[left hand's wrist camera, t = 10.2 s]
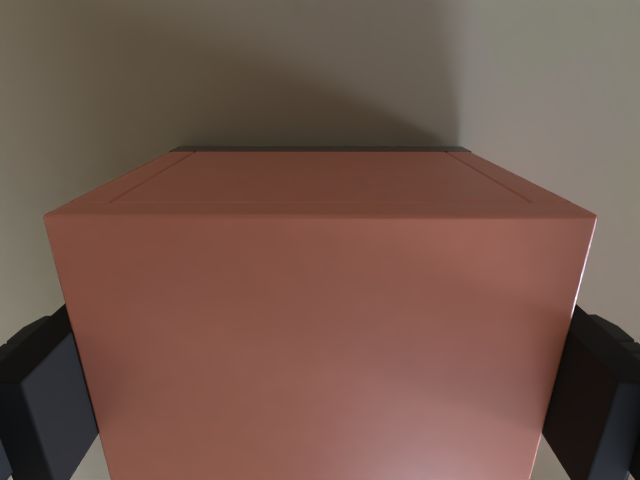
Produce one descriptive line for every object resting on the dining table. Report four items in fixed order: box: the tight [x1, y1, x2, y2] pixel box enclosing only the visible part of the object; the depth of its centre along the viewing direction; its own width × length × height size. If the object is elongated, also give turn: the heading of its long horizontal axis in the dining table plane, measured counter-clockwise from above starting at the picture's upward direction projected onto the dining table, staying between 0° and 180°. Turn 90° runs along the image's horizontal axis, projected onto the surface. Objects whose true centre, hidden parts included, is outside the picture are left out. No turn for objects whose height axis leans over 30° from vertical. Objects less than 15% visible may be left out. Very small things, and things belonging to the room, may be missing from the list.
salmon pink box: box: [44, 147, 597, 480], centre depth 15 cm, size 20×10×8 cm, turn 0°
